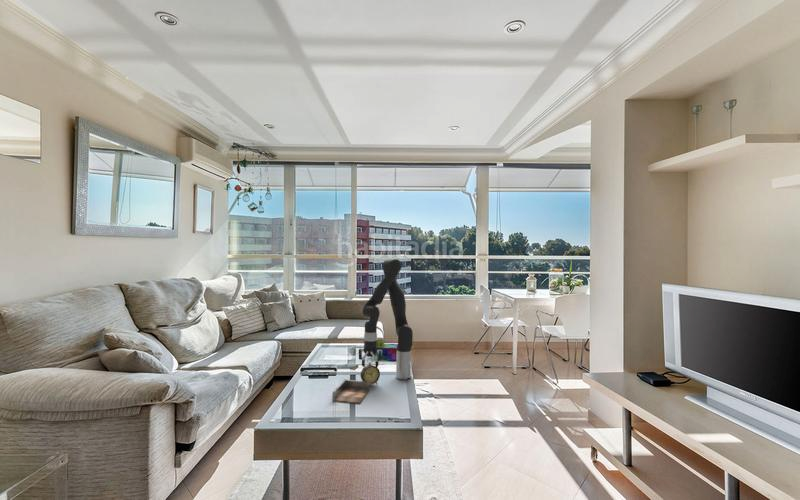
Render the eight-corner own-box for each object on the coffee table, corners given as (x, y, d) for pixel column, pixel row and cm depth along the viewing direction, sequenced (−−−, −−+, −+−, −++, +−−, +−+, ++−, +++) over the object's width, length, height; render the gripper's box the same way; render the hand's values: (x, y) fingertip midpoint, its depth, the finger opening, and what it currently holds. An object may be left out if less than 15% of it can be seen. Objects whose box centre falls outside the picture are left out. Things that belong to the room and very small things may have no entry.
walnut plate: (369, 390, 218) (369, 388, 218) (359, 403, 200) (359, 402, 200) (344, 388, 221) (344, 386, 221) (332, 401, 203) (332, 399, 203)
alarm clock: (362, 388, 222) (363, 360, 221) (359, 385, 226) (359, 357, 226) (380, 385, 227) (380, 358, 227) (376, 382, 232) (376, 355, 231)
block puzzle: (373, 361, 274) (374, 341, 274) (375, 354, 291) (375, 335, 291) (408, 361, 274) (409, 342, 274) (408, 354, 291) (408, 336, 291)
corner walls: (369, 389, 218) (369, 381, 218) (359, 402, 200) (359, 394, 200) (344, 386, 221) (344, 379, 221) (332, 399, 203) (332, 391, 202)
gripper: (383, 338, 229) (383, 366, 229) (360, 337, 231) (360, 364, 232) (380, 341, 221) (380, 370, 221) (356, 340, 224) (356, 368, 224)
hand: (370, 366), depth 226 cm, fingers closed on alarm clock, 7 cm apart
